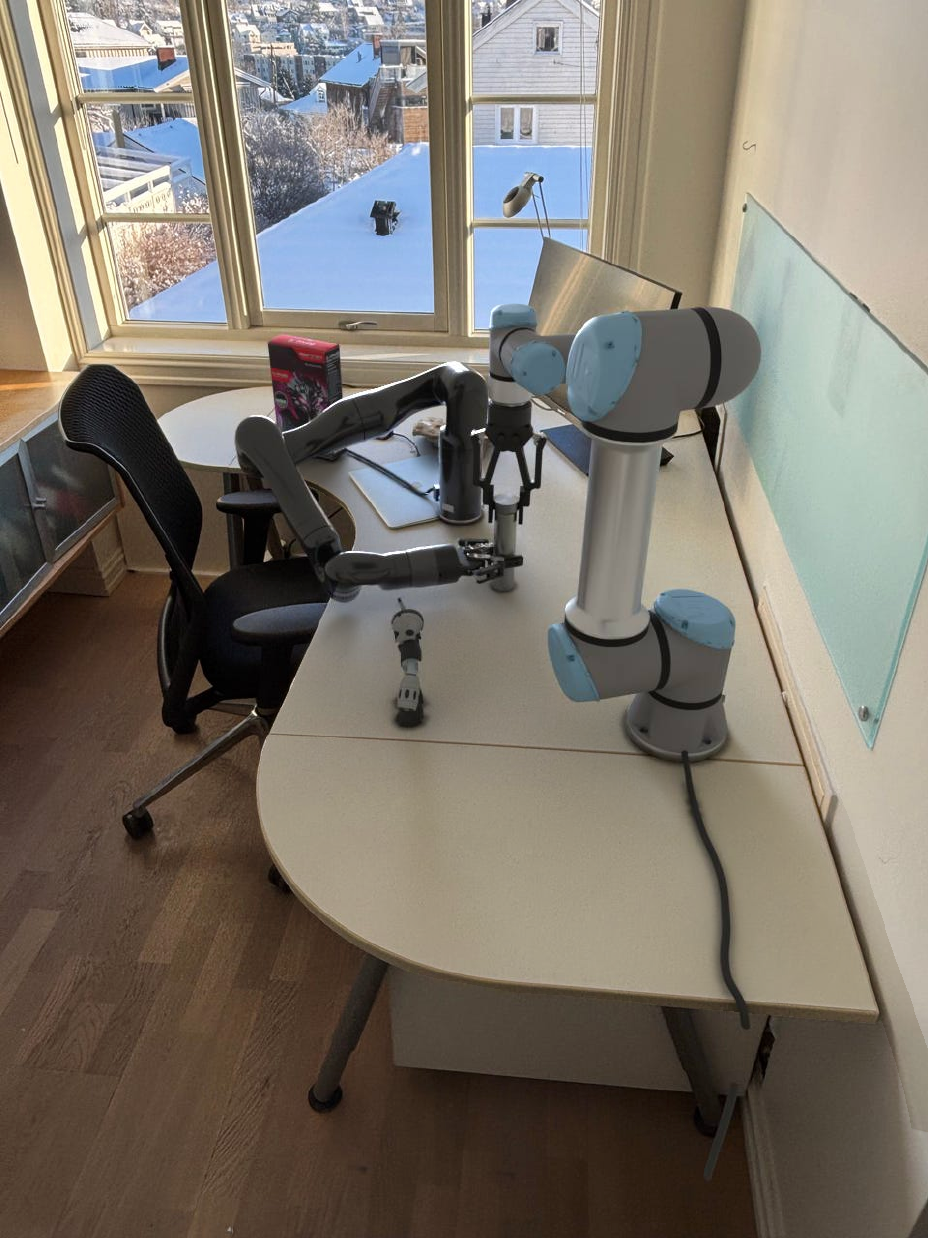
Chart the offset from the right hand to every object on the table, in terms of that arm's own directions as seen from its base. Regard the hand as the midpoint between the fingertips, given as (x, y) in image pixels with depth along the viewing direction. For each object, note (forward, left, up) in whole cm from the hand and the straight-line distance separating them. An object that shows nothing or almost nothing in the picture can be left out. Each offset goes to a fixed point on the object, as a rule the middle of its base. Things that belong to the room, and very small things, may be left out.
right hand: (505, 520), depth 170 cm
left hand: (+1, -2, -8) cm, 8 cm away
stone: (+61, +28, -14) cm, 69 cm away
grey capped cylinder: (0, 0, -14) cm, 14 cm away
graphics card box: (+49, +60, -14) cm, 79 cm away
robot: (-41, +5, -14) cm, 44 cm away
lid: (0, 0, +4) cm, 4 cm away
